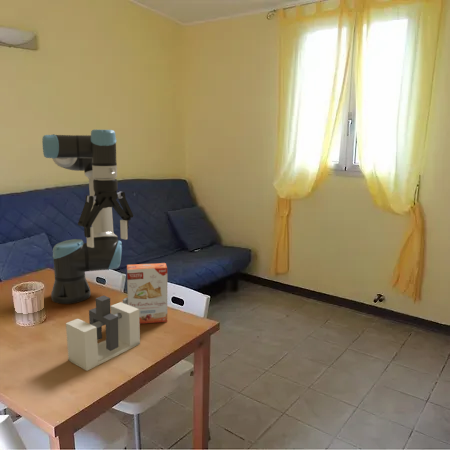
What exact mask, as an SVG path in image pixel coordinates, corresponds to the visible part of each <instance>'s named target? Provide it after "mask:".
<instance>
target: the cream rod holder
mask: <svg viewBox="0 0 450 450" xmlns="http://www.w3.org/2000/svg"><path fill="white" fill-rule="evenodd" d="M110 313H111V314H113V315H115V316H117V317H118V346H119V347H118V348H115V349H113V350H111V351H110V350H108V349H106V339H105V340H102V341H101V342H99V343H98V340H97V328H99V327H101V326H102V327H103V326H106V324H104V323H102V322H100V321H98V322H95V323H93V324H89V322H86V321H85V320H82V319H80V318H75V319H73V320H70V321H68V322H66V323H65V329H66V330H65V331H66V343H67V360H68V361H69V362H71V363H72V364H74V365H76V366H77V367H79V368H81V369H82V370H84V371H87V372H88V371H89V370H92V369H93V368H96V367H98V366H99V365H101V364H104V363H105V362H107V361H109V360H111V359H113V358H115V357H117V356H119V355H121V354H123V353H125V352H127V351H128V350H130V349H132V348H135V347H136V346H139V345H140V344H141V337H140V336H141V334H140V333H141V332H140V331H141V330H140V328H141V327H140V326H141V324H139V309H137V308H135V307H132V306H130V305H127V304H124V303H123V301H120V302H118V303H115V304H112V305H110Z"/></svg>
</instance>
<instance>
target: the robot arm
mask: <svg viewBox="0 0 450 450" xmlns="http://www.w3.org/2000/svg"><path fill="white" fill-rule="evenodd" d="M116 136H117V135H116V131H115V130H114V129H92V130H91V132H90V135H87V134H86V135H84V134H82V135H79V134H75V135H73V134H72V135H71V134H44V135H43V136H42V152H43V153H42V154H43V157H44V158H45V159H52V161H53V162H54V164H55V165H57V167H59V168H63V169H65V170H69V171H76V172H79V171H80V172H82V171H84V176H85V177H86V178H87V179H88V188H89V195H88V194H87V195H86V196H85V203H84V206H83V208H82V211H81V214H80V216H79V219H78V222H77V225H78V226H79V227H82V228H83V233H84V237H85V238H86V242H84V240H83V239H81V238H80V239H77V238H72V239H67V240H63V241H60V242H58V243H56V244H55V245H54V246H53V248H52V259H53V271H54V273H53V274H54V283H53V286H52V289H51V294H50V297H51V301H52V302H54V303H57V304H66V305H67V304H69V305H70V304H77V303H79V302H83V301H86V300H87V299H89V298H90V297H91V288H90V287H91V286H89V283H88V281H87V279H86V272H97V271H98V272H99V271H109V270H115V269H118V268H119V267H120V265H121V262H122V261H121V260H122V252H123V251H122V250H123V245H122V243H123V242H122V241H121V240H125V241H126V240H128V230H129V221H131V219H132V218H133V217H134V213H133V212H132V210H131V207H130V205H129V203H128V200H127V199H126V193H125V192H124V191H118V188H119V187H118V186H119V185H118V179H117V177H118V165H117V137H116ZM117 199H118V201H117ZM113 209H114V211H115V212H116V213H117V214H118V215H119V216H120V217H121V219H120V220H119V223H120V224H119V225H120V239H121V240H119V239H118V238H119V237H118V235H117V234H115V233H114V220H113Z"/></svg>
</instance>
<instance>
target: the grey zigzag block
mask: <svg viewBox="0 0 450 450" xmlns="http://www.w3.org/2000/svg"><path fill="white" fill-rule="evenodd" d="M88 314H89V315H88V320H89V322H88V323H89V324H93V323H95V322H98V321H100V322H102V323H104V324H106V325H105V340H106V349H108V350H110V351H111V350H113V349H115V348H118V347H119V346H118V317H117V316H115V315H113V314H111V298H110V297H108V296H107V295H100V296H99V297H96V298H95V307H94V308H92V309H89V310H88ZM101 339H103V326H101V327H99V328H97V341H99V340H101Z"/></svg>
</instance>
